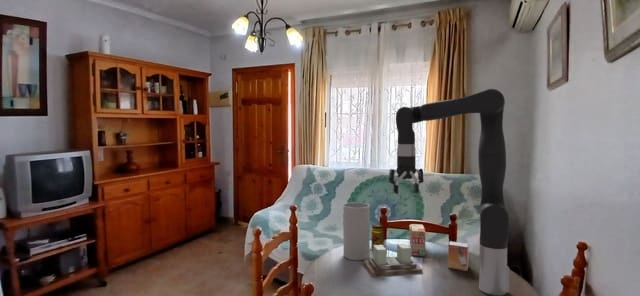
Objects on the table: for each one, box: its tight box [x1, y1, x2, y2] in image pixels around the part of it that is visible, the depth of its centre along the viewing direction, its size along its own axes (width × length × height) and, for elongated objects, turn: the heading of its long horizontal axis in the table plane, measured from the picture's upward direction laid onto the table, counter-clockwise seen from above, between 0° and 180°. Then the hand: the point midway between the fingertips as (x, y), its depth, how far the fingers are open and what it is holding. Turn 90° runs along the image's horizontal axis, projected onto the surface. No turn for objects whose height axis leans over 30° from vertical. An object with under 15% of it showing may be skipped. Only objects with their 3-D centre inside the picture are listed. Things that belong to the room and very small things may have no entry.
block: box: [372, 244, 388, 266], centre depth 147 cm, size 4×6×8 cm, turn 8°
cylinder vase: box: [342, 201, 371, 262], centre depth 161 cm, size 12×12×25 cm
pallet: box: [362, 256, 423, 277], centre depth 148 cm, size 22×14×3 cm, turn 98°
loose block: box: [396, 243, 412, 264], centre depth 148 cm, size 4×6×8 cm, turn 8°
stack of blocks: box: [408, 223, 426, 257], centre depth 172 cm, size 21×6×12 cm, turn 169°
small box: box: [447, 240, 470, 272], centre depth 148 cm, size 8×6×10 cm
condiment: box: [370, 223, 387, 251], centre depth 174 cm, size 7×8×12 cm
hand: (406, 193), depth 141 cm, fingers open, 8 cm apart
